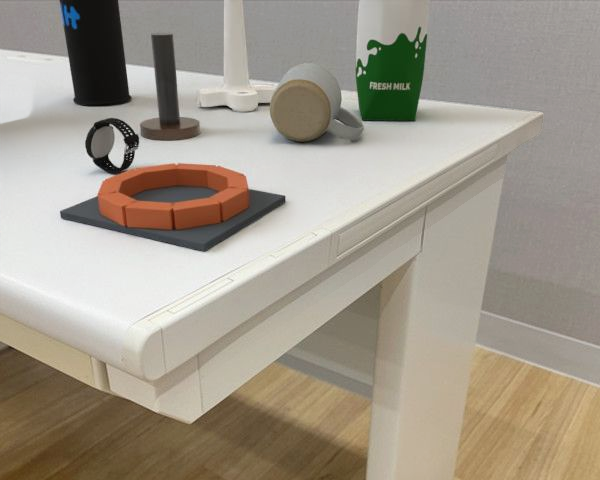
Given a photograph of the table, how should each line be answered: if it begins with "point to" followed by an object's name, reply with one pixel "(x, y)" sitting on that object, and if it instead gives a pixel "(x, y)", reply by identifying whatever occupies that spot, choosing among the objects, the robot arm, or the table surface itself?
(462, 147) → the table surface
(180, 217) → the ring
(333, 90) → the ceramic mug
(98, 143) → the smartwatch
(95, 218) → the mat
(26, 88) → the table surface
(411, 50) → the milk carton
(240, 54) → the white footed stand
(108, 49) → the aerosol can
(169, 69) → the post
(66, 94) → the table surface
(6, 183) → the table surface
